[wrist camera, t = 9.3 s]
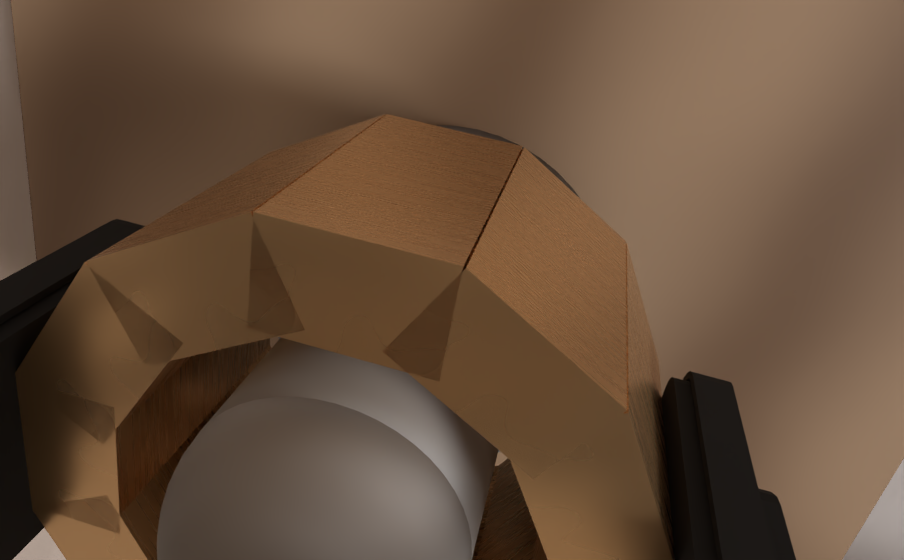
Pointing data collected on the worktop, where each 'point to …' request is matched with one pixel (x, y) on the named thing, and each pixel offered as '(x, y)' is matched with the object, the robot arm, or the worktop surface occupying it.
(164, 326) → the bronze ring
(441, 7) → the piston stand
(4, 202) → the worktop surface
